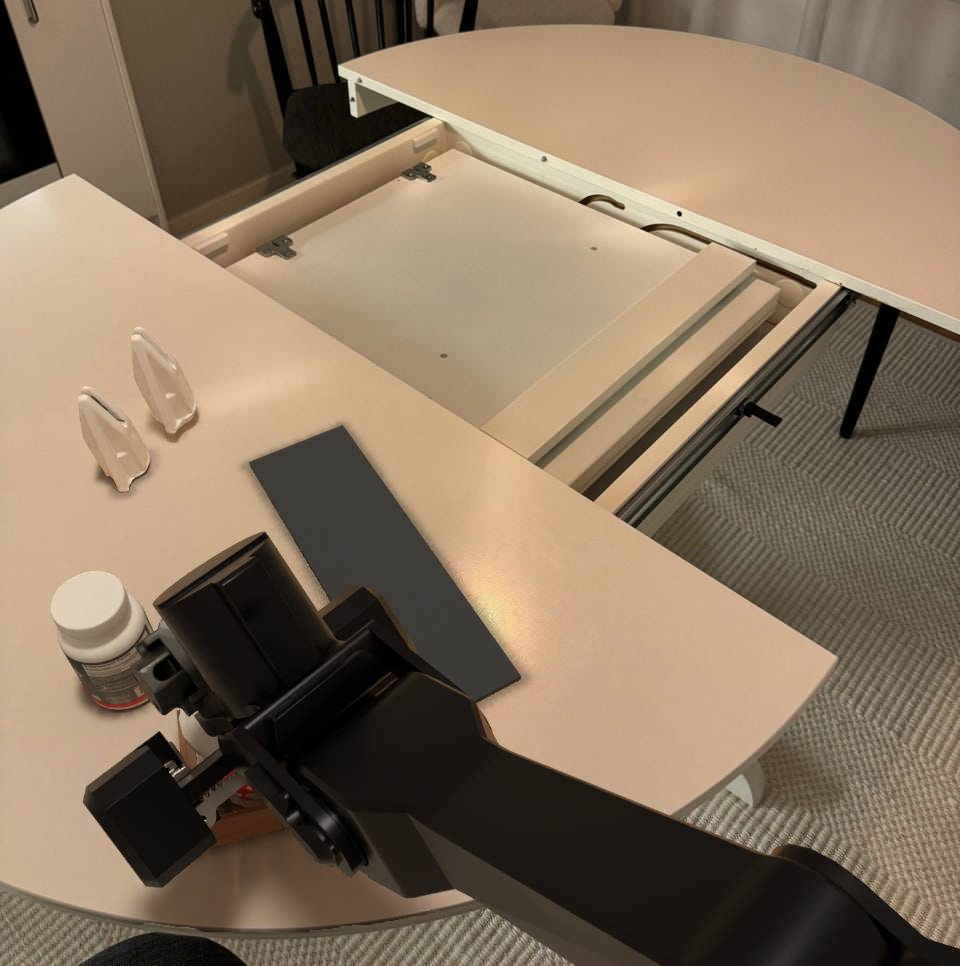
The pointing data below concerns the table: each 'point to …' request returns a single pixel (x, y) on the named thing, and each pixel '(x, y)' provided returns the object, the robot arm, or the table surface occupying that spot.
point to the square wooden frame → (235, 822)
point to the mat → (379, 555)
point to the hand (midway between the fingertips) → (223, 709)
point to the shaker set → (113, 428)
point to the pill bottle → (101, 636)
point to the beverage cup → (206, 747)
